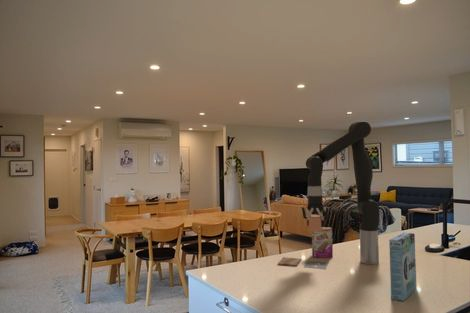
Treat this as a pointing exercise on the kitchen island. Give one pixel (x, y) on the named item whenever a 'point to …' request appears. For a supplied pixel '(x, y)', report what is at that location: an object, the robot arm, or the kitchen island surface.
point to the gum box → (402, 266)
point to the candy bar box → (322, 243)
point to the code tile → (316, 264)
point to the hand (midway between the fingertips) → (315, 226)
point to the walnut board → (289, 261)
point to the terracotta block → (315, 223)
